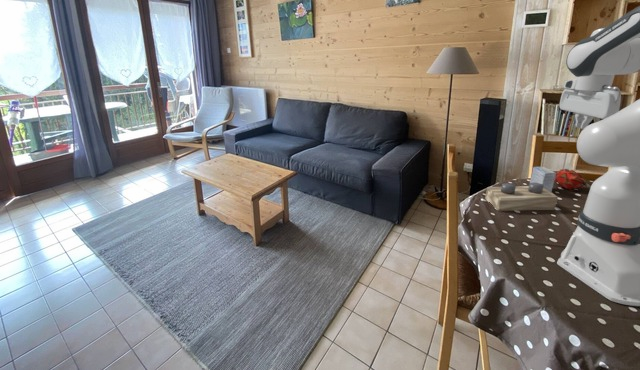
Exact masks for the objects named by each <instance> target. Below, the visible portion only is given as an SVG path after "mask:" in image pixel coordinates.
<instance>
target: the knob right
mask: <svg viewBox="0 0 640 370" xmlns="http://www.w3.org/2000/svg"><path fill="white" fill-rule="evenodd" d="M528 186H529V188H528V191H530V192H533V193H542V191H543V187H544V185H542V184H540V183H530V182H529V184H528Z"/></svg>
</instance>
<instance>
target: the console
mask: <svg viewBox="0 0 640 370" xmlns="http://www.w3.org/2000/svg"><path fill="white" fill-rule="evenodd" d="M515 186H516V185H515ZM501 187H502V186H488V187H486V193H485V197H484V199H485V200H486V202H488V203H489V202H490V203H491V204H492V205H493V206H492V205H491V204H490V203H489V204H490V205H491V206H492V207H493V208H495V209H496V210H497V212H499V211H501V212H502V211H542V210H545V211H546V210H547V211H549V210H550V211H551V210H553V211H554V210H555V209H556V207H557V206H556V205H557V201H558V199H559V196H557V195H556V194H554V193H553V192H549V191H548V190H546V189H544V188H543V191H542V193H533V192H530V191H528V188H529V185H526V186H525V185H524V186H523V185H522V186H519V185H518V186H516V188H515V192H514V194H507V193H503V192H501Z"/></svg>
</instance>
